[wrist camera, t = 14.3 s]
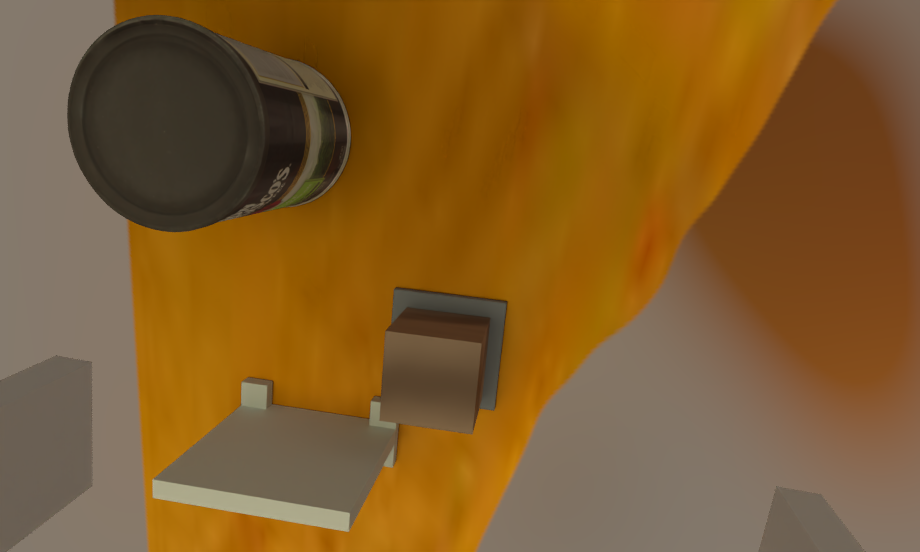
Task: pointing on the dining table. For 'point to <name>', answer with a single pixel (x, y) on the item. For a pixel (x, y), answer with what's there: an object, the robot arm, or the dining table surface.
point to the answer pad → (467, 307)
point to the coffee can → (201, 125)
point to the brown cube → (434, 369)
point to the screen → (283, 462)
